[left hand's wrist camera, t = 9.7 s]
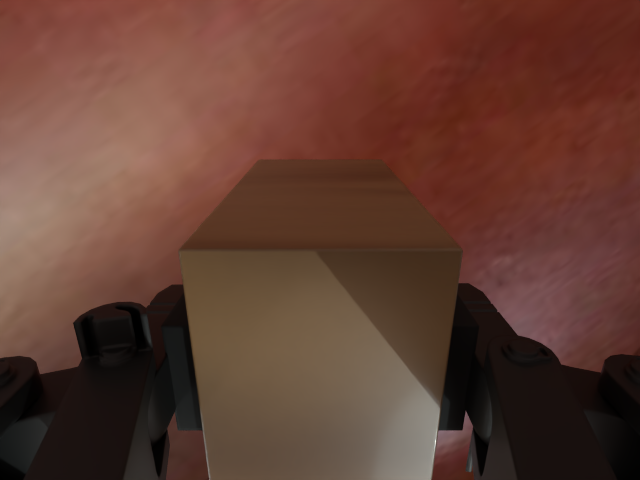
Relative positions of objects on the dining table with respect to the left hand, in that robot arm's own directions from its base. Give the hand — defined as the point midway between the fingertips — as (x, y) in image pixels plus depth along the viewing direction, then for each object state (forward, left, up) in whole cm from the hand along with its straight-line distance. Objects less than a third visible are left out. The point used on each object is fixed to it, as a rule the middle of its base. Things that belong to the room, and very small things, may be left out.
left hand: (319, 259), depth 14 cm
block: (0, 0, -2) cm, 2 cm away
